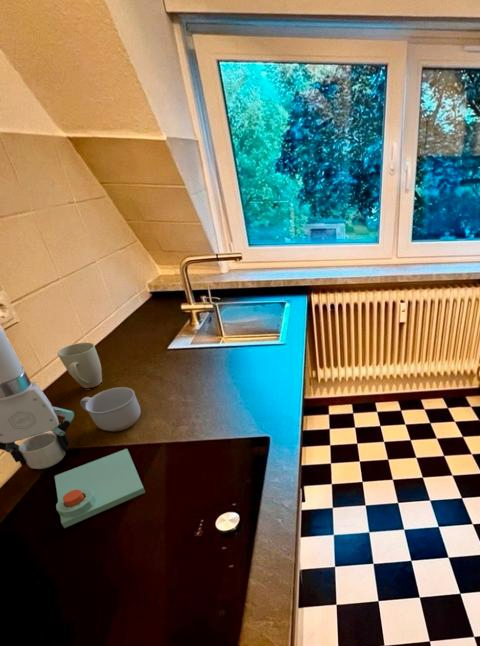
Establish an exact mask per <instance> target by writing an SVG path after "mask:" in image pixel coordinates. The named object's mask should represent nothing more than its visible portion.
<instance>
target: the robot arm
mask: <svg viewBox="0 0 480 646" xmlns="http://www.w3.org/2000/svg"><path fill="white" fill-rule="evenodd" d="M58 416H59V417H64V418H63V419H62V421H61V422H60V423H59V421H60V420H59V418H58ZM74 418H75V412H74V411H73V410H69V409H65V408H62V407H57V406H53V405H52V403H51V402H50V400H49V399H48V397H47V396H46V394H45V393H44V391H43V390H42V389H41V388H40V386H39V384H37V382H35V381H31V379H30V378H29V376H28V373H27V372H26V369H24V366H23V364H22V363H21V361H20V359H19V357H18V355H17V353H16V351H15V349H14V348H13V345H12V344H11V342H10V340H9V338H8V336H7V334H6V333H5V330H4V329H3V327H2V326H1V325H0V450H1V451H5V452H6V453H10V455H11V456H12V459H13V460H14V461H15V463H20V465H21V466H22V467H24V466H26V465H27V463H26V461H25V460H24V458H23V456H22V455H21V453H20V451H19V446H20V444H18V443H15V442H18V441H22V440H26V439H29V438H31V437H33V436H35V435H39V434H43V433H49V432H51V433H54V434H56V435H57V439H58V441H59V443H60V445H61V447H62V449H63V450H64V451H65V452H68V451H69V449H68V446H70V445H71V444H70V441H69V438H68V437H67V435H66V432H67V431H68V429H69V427H70V426H71V423H72V421H73V419H74Z"/></svg>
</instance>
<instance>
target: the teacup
mask: <svg viewBox="0 0 480 646" xmlns="http://www.w3.org/2000/svg"><path fill="white" fill-rule="evenodd" d="M79 404H80V406H81V408H82V409H83V410H84V411H85V412H87V413H88V414H89V416H90V418H91V420H92V421H93V423H94V425H95V426H96V427H97V428H99V429H100V430H102V431H106V432H121V431H125V430H127V429H129V428H131V427H132V426H134V425H135V424H136V422H137V421H138V419H139V418H140V416H141V412H142V411H141V410H142V409H141V407H140V404H139V402H138V398H137V396H136V392H135V391H134V390H133V389H132V388H130V387H125V386H122V387H121V386H120V387H113V388H108V389H106V390H102V391H100V392H98V393H96V394H95V395H92V397H90V396H85V397H83V398H82V399H81V400H80V402H79Z"/></svg>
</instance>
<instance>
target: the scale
mask: <svg viewBox="0 0 480 646" xmlns="http://www.w3.org/2000/svg"><path fill="white" fill-rule="evenodd" d="M54 482H55V483H54V484H55V489H56V497H57V503H56V505H55V509H56V511H57V513H58V515H59V516H60V517H59V518H60V523H61V525H62V527H63V528H64V529H66V528H68V527H71V526H73V525H75V524H77V523H80V522H82V521H84V520H86V519H88V518H90V517H93V516H95V515H98V514H100V513H102V512H104V511H107V510H109V509H111V508H113V507H115V506H118V505H120V504H123V503H125V502H127V501H130V500H132V499H134V498H136V497H138V496H141V495H143V494H145V493H146V489H145V488H144V485H143V483H142V481H141V477H140V476H139V473H138V471H137V469H136V466H135V463H134V461H133V459H132V456H131V454H130V451H129V450H128V448H124V449H122V450H119V451H117V452H114V453H111V454H109V455H106V456H103V457H100V458H98V459H95V460H93V461H90V462H87V463H85V464H82V465H79V466H77V467H74V468H72V469H69V470H67V471H63V472H61V473H58V474H56V475H54ZM73 490H80V491H81V492H82V494H83V495H84V500H83V501H82V502H81V503H80V504H78V505H76V506H73V507H68V506H66V504H65V503H64V501H63V497H64V495H65V494H67V493H68V492H70V491H73Z"/></svg>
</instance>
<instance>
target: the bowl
mask: <svg viewBox="0 0 480 646" xmlns="http://www.w3.org/2000/svg"><path fill="white" fill-rule="evenodd" d="M19 451H20V453H21V455H22V456H23V458H24V460H25V461H26V465H27V466H28V467H29V468H31V469H37V470H42V469H43V470H44V469H47V468H50V467H53V466H55V465H57V464H58V463H60V462H61V461H62V460H63V459H64V457H65V456H66V454H67V453H66V452H67V451H66V452H65V451H64V450H63V449H62V447H61V445H60V443H59V441H58V439H57V435H56V433H54V432H45V433H42V434H38V435H35V436H32V437H29V438H26V439H24V440H23V441H22V442H21V443H20V444H19Z"/></svg>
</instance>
